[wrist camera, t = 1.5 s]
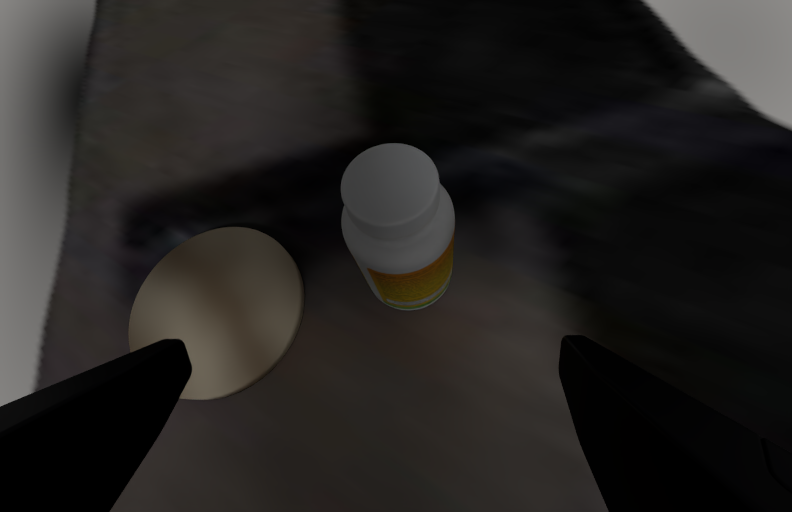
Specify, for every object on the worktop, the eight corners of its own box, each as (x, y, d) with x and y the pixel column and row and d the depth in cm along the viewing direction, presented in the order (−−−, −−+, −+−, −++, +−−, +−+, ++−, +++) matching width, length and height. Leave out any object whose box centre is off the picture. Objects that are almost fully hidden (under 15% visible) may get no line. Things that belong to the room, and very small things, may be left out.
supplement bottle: (470, 267, 23) (487, 173, 14) (411, 330, 22) (389, 270, 13) (408, 218, 25) (389, 108, 16) (350, 273, 24) (296, 187, 15)
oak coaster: (214, 442, 20) (203, 443, 20) (108, 328, 24) (95, 325, 23) (339, 288, 23) (335, 283, 22) (228, 207, 27) (220, 200, 26)
